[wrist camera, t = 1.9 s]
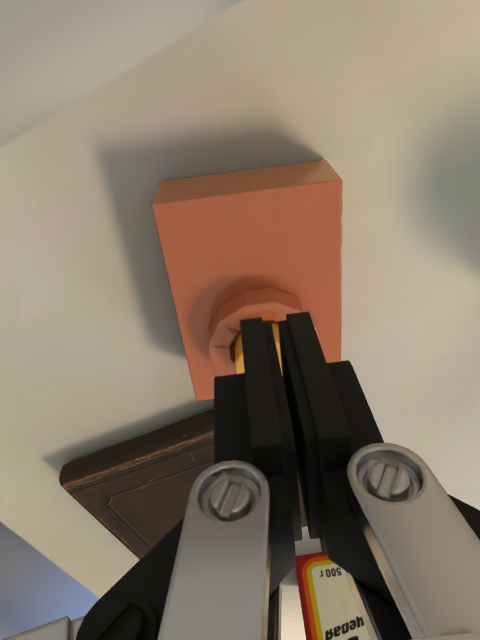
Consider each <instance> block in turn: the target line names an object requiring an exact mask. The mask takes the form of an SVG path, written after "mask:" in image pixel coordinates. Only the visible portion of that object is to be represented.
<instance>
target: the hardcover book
mask: <svg viewBox="0 0 480 640" xmlns="http://www.w3.org/2000/svg"><path fill="white" fill-rule="evenodd" d="M212 465H214V410H211V411H209V412H206V413H203V414H200V415H198V416H195V417H192V418H190V419H187V420H184V421H181V422H179V423H176V424H173V425H171V426H168V427H165V428H162V429H160V430H157V431H154V432H152V433H149V434H146V435H143V436H141V437H138V438H135V439H133V440H130V441H127V442H124V443H122V444H119V445H116V446H114V447H111V448H108V449H105V450H103V451H100V452H97V453H95V454H92V455H89V456H86V457H84V458H81V459H78V460H75V461H73V462H70V463H67V464H65V465H64V466H63V467H62V470H61V472H60V476H59V481H60V484H61V486H62V487H63V488H64V489H65V490H66V491H67V492H68V493H69V494H70V495H71V496H72V497H73V498H74V499H75V500H77V501H78V502H79V503H80V504H81V505H82V506H83V507H84V508H85V509H86V510H87V511H88V512H89V513H90V514H92V515H93V516H94V517H95V518H96V519H97V520H98V521H99V522H100V523H101V524H102V525H103V526H104V527H105V528H107V529H108V530H109V531H110V532H111V533H112V534H113V535H114V536H115V537H116V538H117V539H118V540H119V541H120V542H122V543H123V544H124V545H125V546H126V547H127V548H128V549H129V550H130V551H131V552H132V553H133V554H134V555H135V556H137V557H138V558H139V559H140V560H141V559H142V558H143V557H144V556H145V555H146V554H147V553H148V552H149V551H150V550H151V549H152V548H153V547H154V546H155V545H156V544H157V543H158V542H159V541H160V540H161V539H162V538H163V537H164V536H165V535H166V534H167V533H168V532H169V531H170V530H171V529H172V528H173V527H174V526H175V525H177V524H178V523H179V522H180V521H181V520H182V519H183V518H184V517H185V513H186V508H187V503H188V499H189V494H190V491H191V488H192V486H193V483H194V481H195V480H196V479H197V478H198V476H199V475H200V474H201V473H202V472H203V471H205V470H206V469H208V468H209V467H210V466H212ZM298 486H299V500H300V514H301V528H302V527H305V526H307V521H306V516H305V511H304V505H303V500H302V495H301V490H300V485H299V479H298Z"/></svg>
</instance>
